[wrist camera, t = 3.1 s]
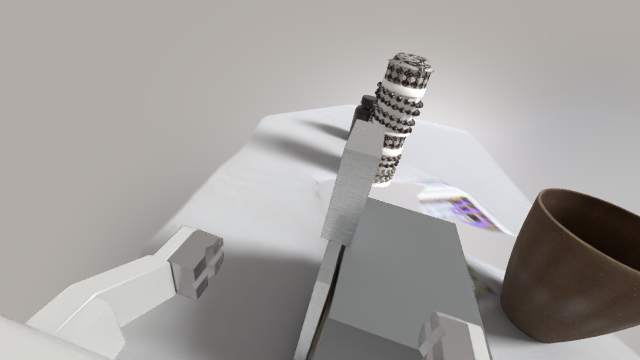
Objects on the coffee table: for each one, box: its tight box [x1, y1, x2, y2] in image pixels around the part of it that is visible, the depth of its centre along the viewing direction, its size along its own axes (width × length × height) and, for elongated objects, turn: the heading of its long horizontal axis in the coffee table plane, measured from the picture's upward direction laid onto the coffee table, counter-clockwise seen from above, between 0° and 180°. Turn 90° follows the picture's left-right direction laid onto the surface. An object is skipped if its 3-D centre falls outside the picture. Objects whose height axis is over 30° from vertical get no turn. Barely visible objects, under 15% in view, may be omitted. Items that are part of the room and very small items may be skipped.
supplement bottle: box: [349, 95, 378, 136], centre depth 73 cm, size 7×7×12 cm
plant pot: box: [501, 188, 640, 343], centre depth 33 cm, size 15×15×16 cm
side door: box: [293, 119, 385, 360], centre depth 23 cm, size 10×2×20 cm, turn 166°
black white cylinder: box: [369, 53, 434, 188], centre depth 54 cm, size 9×9×25 cm
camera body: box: [308, 197, 493, 360], centre depth 26 cm, size 16×10×14 cm, turn 166°
